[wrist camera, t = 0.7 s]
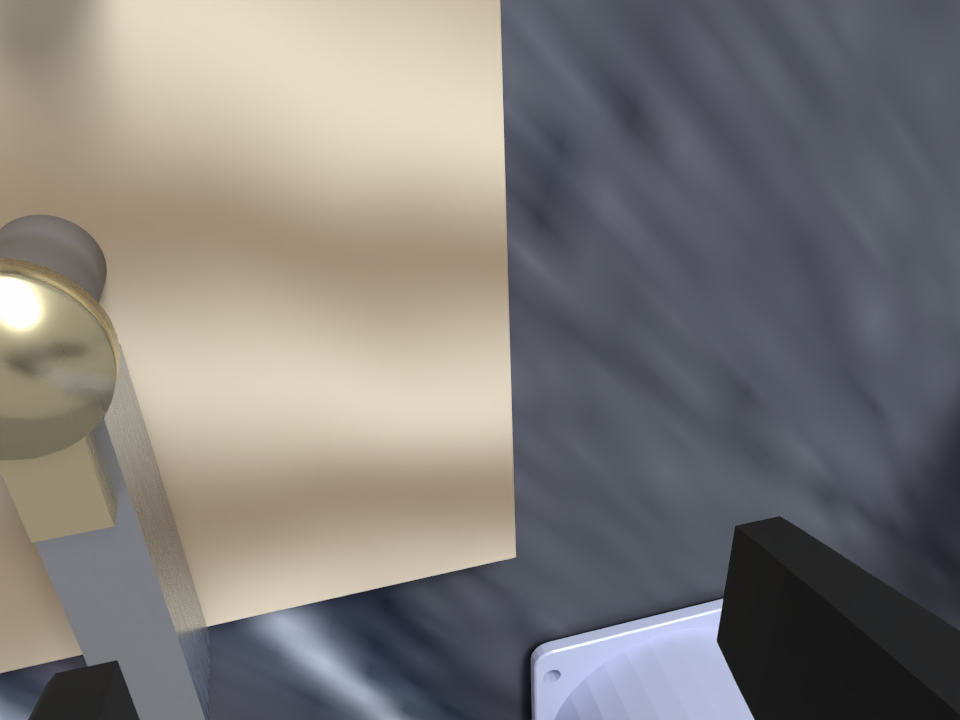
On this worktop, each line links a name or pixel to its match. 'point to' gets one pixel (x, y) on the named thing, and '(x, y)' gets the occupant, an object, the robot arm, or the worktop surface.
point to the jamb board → (276, 280)
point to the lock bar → (96, 492)
